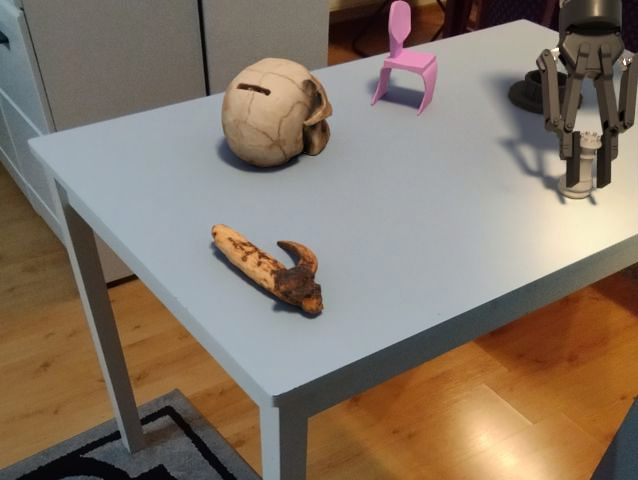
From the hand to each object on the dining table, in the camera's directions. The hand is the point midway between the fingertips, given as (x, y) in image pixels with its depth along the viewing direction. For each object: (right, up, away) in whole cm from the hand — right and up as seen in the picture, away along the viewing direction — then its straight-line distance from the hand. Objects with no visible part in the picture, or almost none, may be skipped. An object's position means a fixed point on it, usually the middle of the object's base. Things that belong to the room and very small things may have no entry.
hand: (588, 184), depth 87 cm
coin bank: (-40, +9, +13) cm, 43 cm away
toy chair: (-21, +19, +25) cm, 37 cm away
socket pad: (+3, +21, +27) cm, 34 cm away
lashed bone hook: (-39, -13, -10) cm, 42 cm away
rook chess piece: (0, 0, +5) cm, 5 cm away
